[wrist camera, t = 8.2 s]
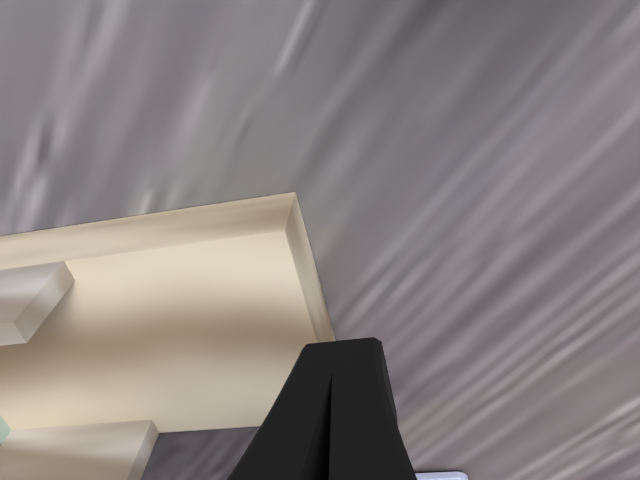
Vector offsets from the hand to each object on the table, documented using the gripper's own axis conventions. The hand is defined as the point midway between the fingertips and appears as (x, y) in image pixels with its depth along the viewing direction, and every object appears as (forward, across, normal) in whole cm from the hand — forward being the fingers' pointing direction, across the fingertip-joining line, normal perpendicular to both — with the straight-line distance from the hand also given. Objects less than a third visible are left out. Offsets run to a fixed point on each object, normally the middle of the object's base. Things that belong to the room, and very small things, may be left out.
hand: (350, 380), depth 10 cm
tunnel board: (+9, +15, +5) cm, 18 cm away
